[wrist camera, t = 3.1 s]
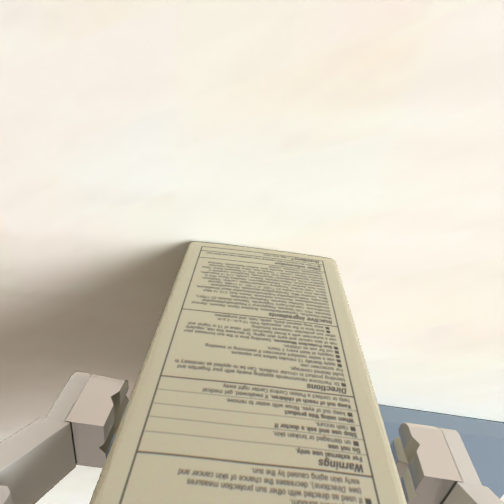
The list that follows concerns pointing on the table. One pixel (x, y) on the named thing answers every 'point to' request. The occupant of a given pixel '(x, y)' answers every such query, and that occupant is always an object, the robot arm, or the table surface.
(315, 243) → the table surface
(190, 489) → the skincare box
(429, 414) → the blue board
